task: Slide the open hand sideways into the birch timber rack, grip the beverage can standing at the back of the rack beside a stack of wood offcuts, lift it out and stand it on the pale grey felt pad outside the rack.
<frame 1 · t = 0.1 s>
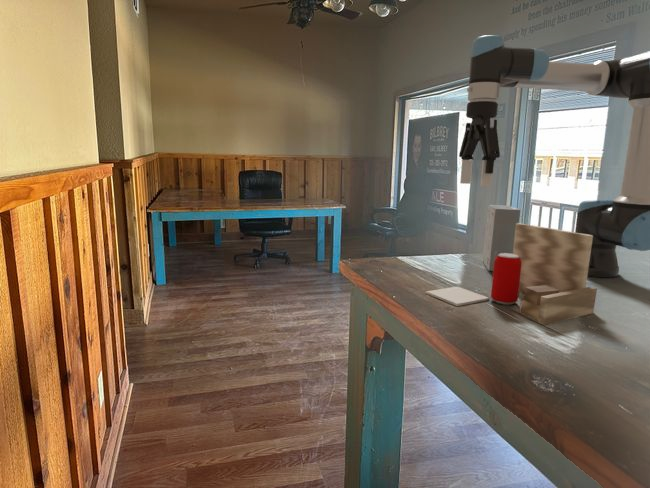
hand: (475, 185, 120), 28 cm above the table, tool pointing down, fingers open, 13 cm apart
offcut lower: (539, 316, 104), on the table, touching offcut upper
hard drive box: (497, 267, 149), on the table
rack: (503, 302, 112), on the table
offcut upper: (540, 301, 103), point 3 cm above the table, touching offcut lower
beverage can: (503, 302, 112), on the table
felt pad: (457, 296, 115), on the table
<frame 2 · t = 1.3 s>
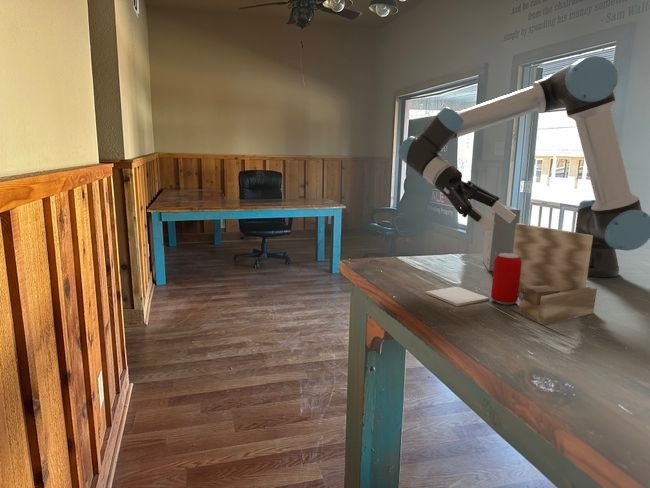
hand: (502, 223, 119), 18 cm above the table, tool tilted 55°, fingers open, 13 cm apart
offcut lower: (539, 315, 104), on the table
offcut upper: (540, 301, 103), point 3 cm above the table
everything else where it was.
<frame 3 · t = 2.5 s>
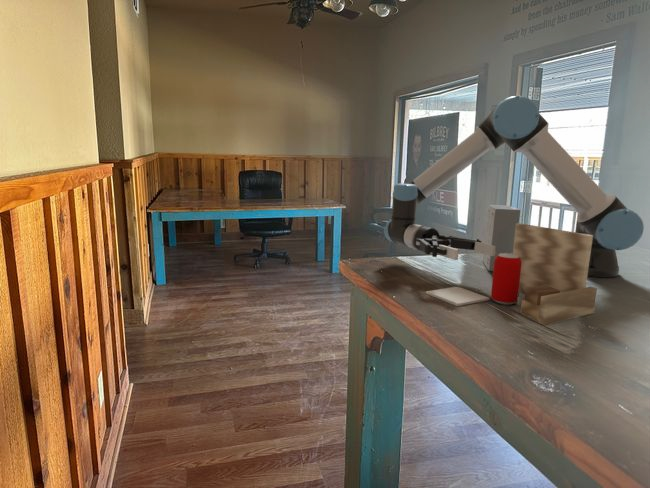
hand: (476, 253, 119), 11 cm above the table, tool horizontal, fingers open, 13 cm apart
offcut lower: (539, 316, 104), on the table, touching offcut upper
offcut upper: (541, 301, 103), point 3 cm above the table, touching offcut lower
everything else where it was.
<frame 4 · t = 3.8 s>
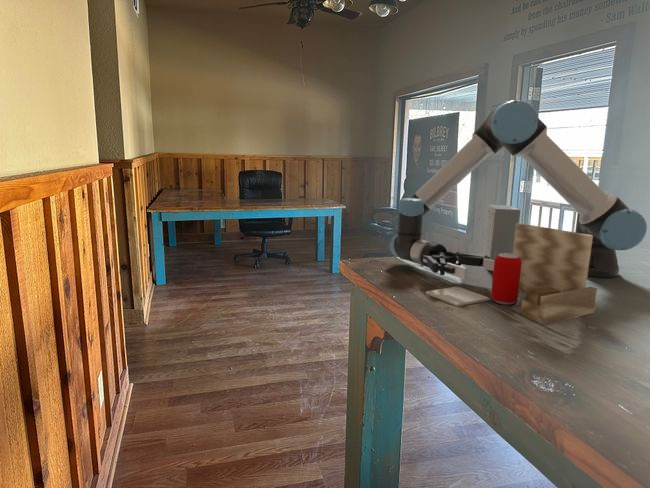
hand: (485, 271, 116), 7 cm above the table, tool horizontal, fingers open, 13 cm apart
nothing on the table moved.
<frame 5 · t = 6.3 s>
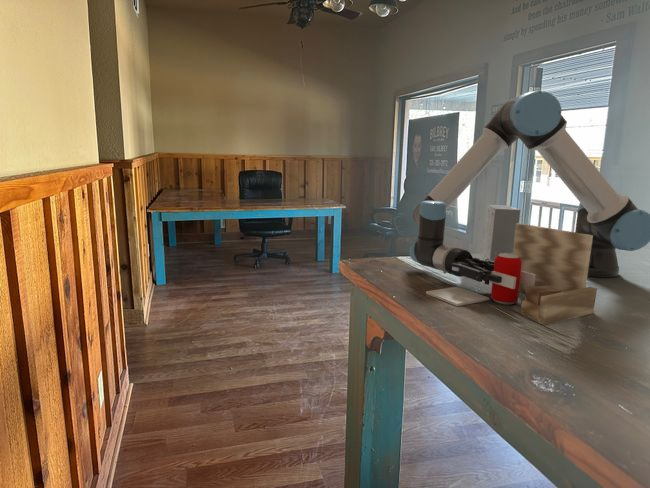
hand: (524, 281, 107), 7 cm above the table, tool horizontal, fingers closed on beverage can, 6 cm apart
beverage can: (503, 302, 112), on the table, touching gripper
everything else where it was.
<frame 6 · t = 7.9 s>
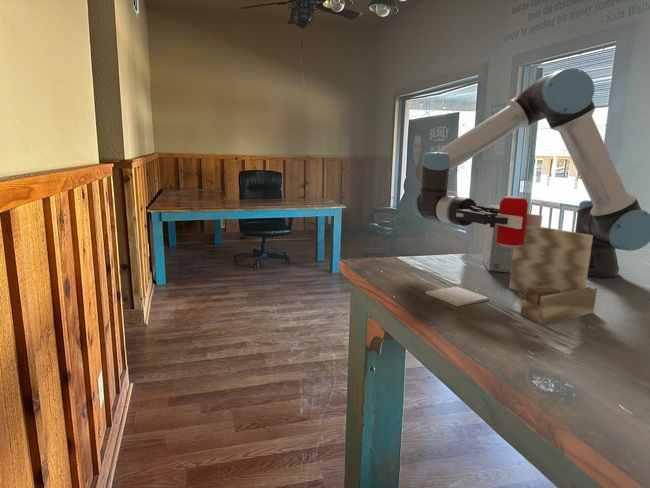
hand: (530, 222, 104), 21 cm above the table, tool horizontal, fingers closed on beverage can, 6 cm apart
beverage can: (509, 247, 110), point 14 cm above the table, touching gripper
everything else where it was.
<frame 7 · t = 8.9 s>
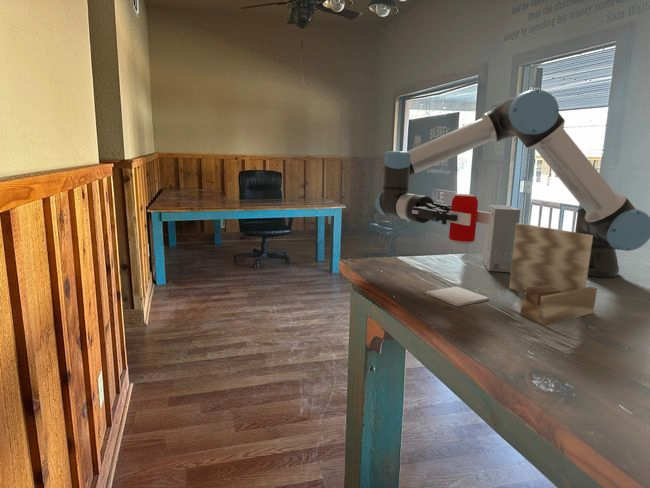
hand: (479, 219, 107), 21 cm above the table, tool horizontal, fingers closed on beverage can, 6 cm apart
beverage can: (461, 243, 113), point 14 cm above the table, touching gripper
everything else where it was.
when the fingers open (8 cm above the table, at t = 11.4 s): beverage can stays where it is, resting on felt pad.
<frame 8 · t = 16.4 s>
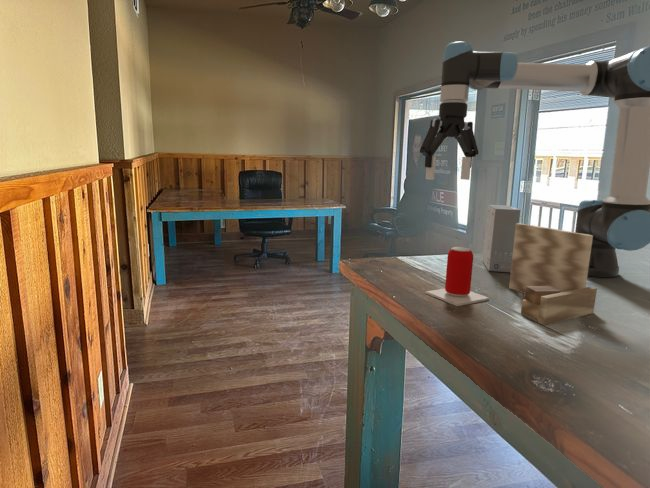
hand: (447, 179, 130), 29 cm above the table, tool pointing down, fingers open, 13 cm apart
beverage can: (457, 295, 115), resting on felt pad
everything else where it was.
at the end: beverage can 0.1 cm from the felt pad (horizontally); beverage can tilted 0°; the gripper is holding nothing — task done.
